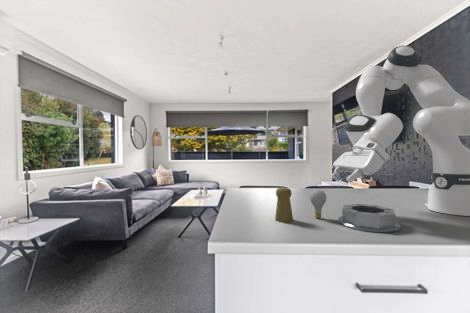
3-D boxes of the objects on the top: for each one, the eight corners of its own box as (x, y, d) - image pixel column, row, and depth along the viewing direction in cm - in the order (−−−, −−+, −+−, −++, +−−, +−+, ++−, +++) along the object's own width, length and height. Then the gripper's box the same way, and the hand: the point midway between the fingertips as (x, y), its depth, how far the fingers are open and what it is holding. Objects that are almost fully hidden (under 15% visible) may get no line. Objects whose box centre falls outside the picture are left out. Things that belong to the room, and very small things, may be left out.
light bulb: (328, 220, 77) (327, 190, 77) (310, 220, 78) (310, 190, 78) (325, 216, 83) (324, 188, 82) (309, 215, 84) (308, 188, 83)
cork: (293, 222, 76) (293, 189, 76) (275, 222, 77) (274, 189, 76) (292, 217, 82) (291, 186, 81) (274, 217, 83) (274, 186, 82)
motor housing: (367, 214, 84) (367, 201, 84) (414, 229, 68) (414, 213, 68) (327, 218, 80) (327, 205, 80) (367, 235, 63) (367, 218, 63)
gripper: (343, 145, 93) (320, 170, 92) (380, 143, 72) (351, 176, 72) (354, 156, 93) (331, 181, 93) (394, 157, 73) (365, 189, 72)
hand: (340, 179), depth 82 cm, fingers open, 8 cm apart
